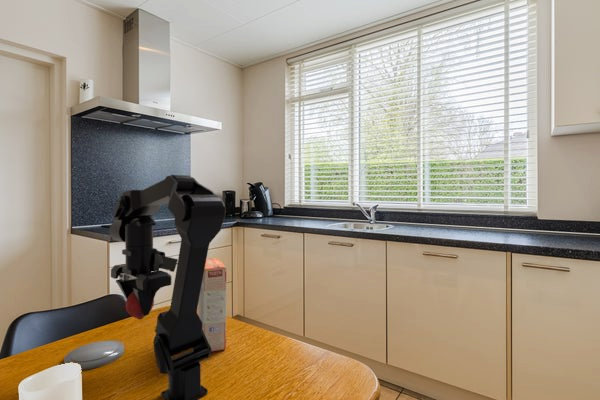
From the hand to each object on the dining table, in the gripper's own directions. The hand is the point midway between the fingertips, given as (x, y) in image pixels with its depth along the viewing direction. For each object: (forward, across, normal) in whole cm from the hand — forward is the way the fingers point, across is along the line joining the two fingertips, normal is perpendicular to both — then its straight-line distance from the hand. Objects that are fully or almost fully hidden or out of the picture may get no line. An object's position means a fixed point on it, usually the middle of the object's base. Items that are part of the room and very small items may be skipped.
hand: (140, 312), depth 74 cm
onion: (+2, 0, 0) cm, 2 cm away
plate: (+12, +11, +6) cm, 17 cm away
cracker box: (+12, -3, -17) cm, 21 cm away
